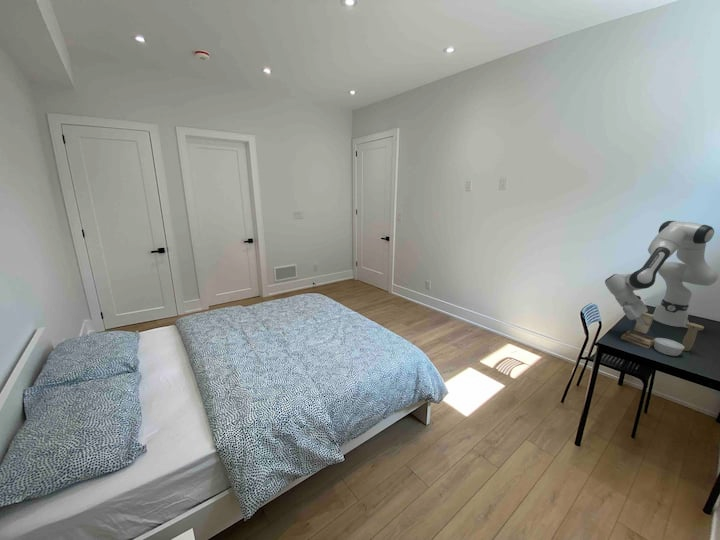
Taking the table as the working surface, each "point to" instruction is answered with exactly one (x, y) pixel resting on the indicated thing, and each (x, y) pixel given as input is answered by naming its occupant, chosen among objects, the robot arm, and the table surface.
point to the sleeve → (644, 329)
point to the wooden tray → (638, 339)
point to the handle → (691, 335)
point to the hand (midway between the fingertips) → (645, 323)
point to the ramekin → (668, 346)
